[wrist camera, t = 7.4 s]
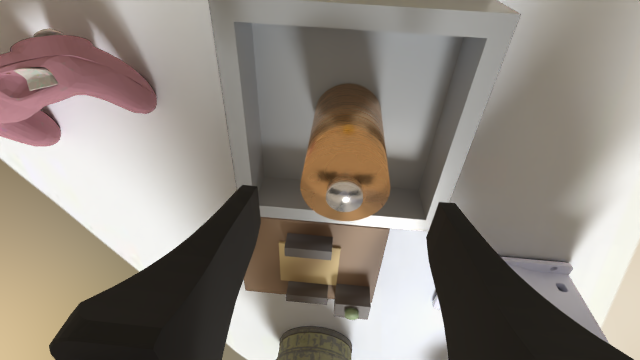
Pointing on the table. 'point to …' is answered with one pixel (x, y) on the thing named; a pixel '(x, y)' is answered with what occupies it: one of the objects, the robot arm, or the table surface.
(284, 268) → the brown stand base
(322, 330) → the thermos
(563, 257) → the table surface
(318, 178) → the cell
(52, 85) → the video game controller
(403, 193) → the tray
